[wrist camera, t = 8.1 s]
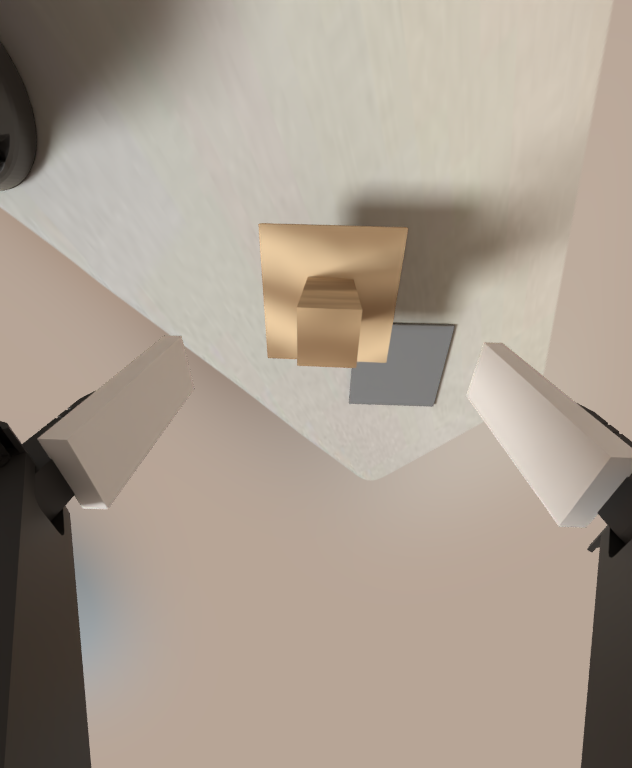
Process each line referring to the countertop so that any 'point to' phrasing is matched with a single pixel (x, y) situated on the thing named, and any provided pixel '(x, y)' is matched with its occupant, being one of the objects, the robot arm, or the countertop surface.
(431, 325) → the mat
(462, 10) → the countertop surface
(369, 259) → the wooden plaque with block
